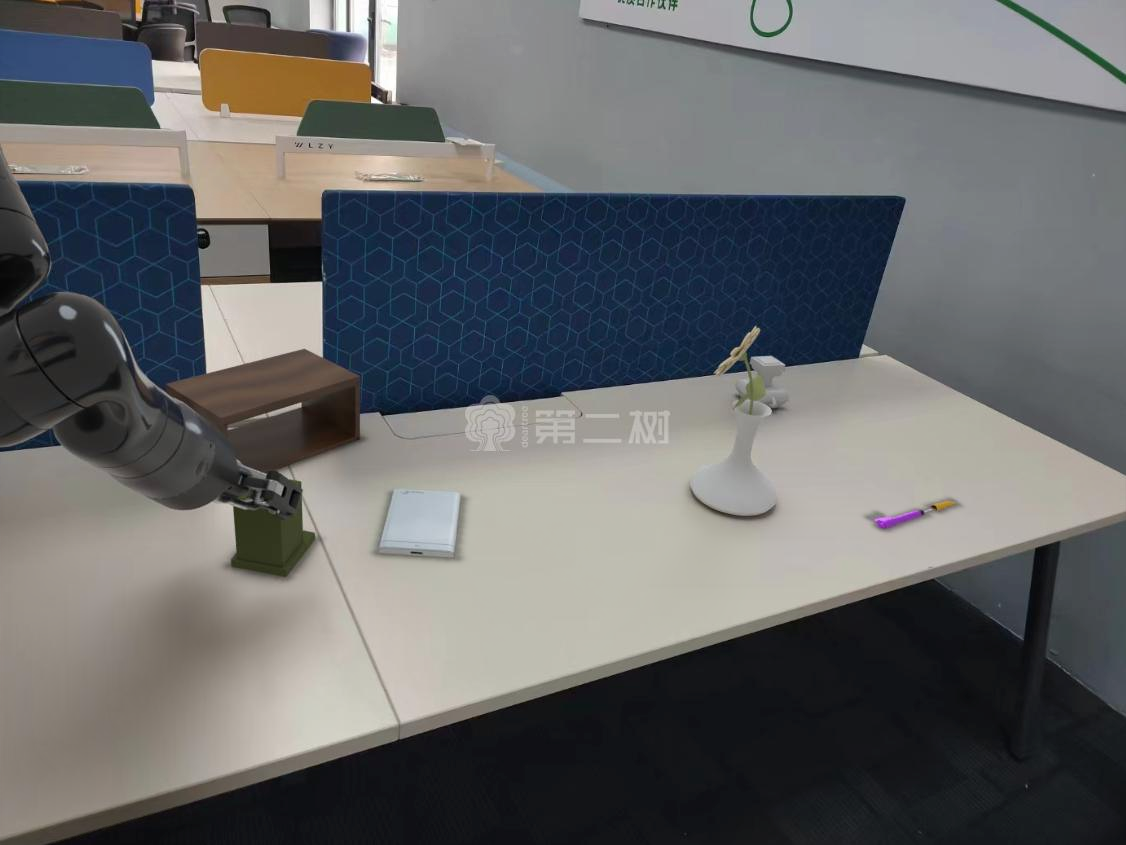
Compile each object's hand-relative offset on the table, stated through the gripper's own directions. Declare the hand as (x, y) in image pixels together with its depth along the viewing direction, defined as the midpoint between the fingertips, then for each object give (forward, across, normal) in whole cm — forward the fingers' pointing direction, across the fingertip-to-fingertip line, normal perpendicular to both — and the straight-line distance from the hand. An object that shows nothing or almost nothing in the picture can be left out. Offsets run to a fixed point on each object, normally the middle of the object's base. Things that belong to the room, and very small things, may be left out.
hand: (246, 502), depth 81 cm
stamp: (+56, -55, -41) cm, 88 cm away
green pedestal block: (+10, 0, +4) cm, 11 cm away
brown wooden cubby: (+26, +11, -12) cm, 31 cm away
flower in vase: (+31, -49, -17) cm, 61 cm away
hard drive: (+18, -13, -4) cm, 23 cm away
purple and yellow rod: (+35, -74, -20) cm, 85 cm away
